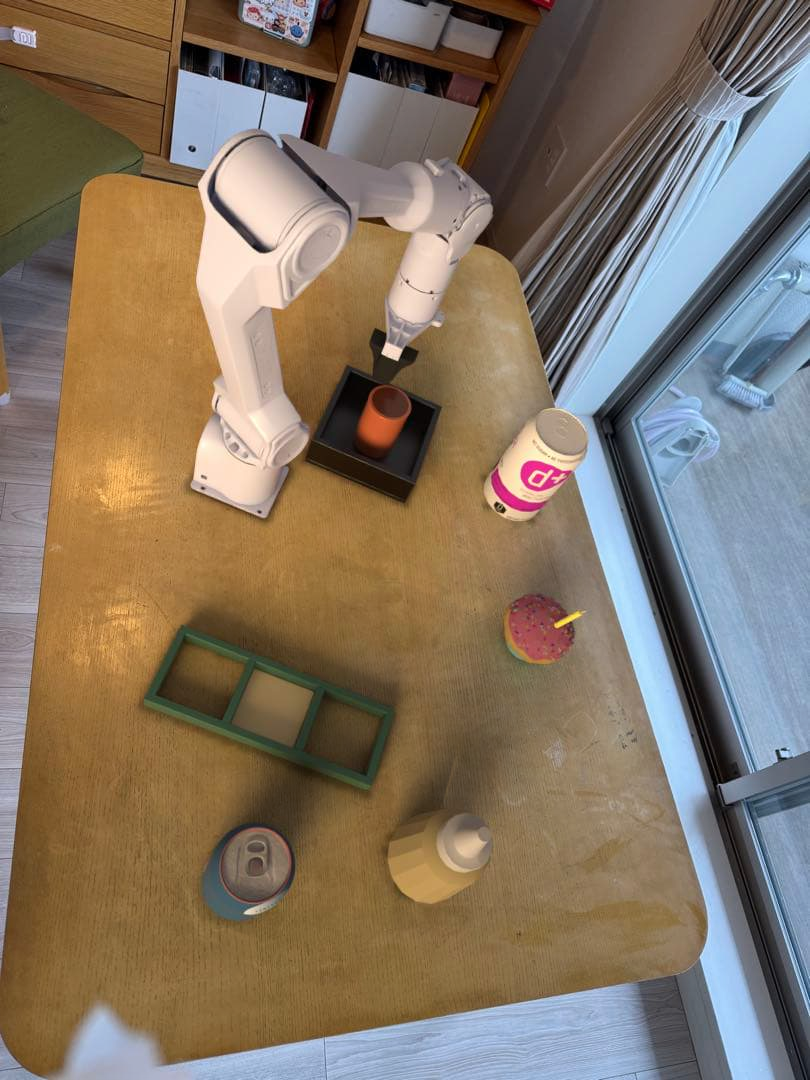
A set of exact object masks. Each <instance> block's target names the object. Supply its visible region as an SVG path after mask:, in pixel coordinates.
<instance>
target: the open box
mask: <svg viewBox="0 0 810 1080" xmlns="http://www.w3.org/2000/svg"><path fill="white" fill-rule="evenodd" d="M383 385H386V384H384V383H381V382H379V381H377V380H375V379H373V378H372V374H371V373H368V372H366V371H364V370H361V369H359V368H357V367H355V366H352V365H350V364H348V363H347V364H346V365H345V367H344V369H343V372H342V374H341V376H340V378H339V380H338V382H337V385H336V387H335V388H334V391H333V393H332V395H331V397H330V399H329V402H328V404H327V406H326V407H325V410H324V412H323V414H322V417H321V419H320V420H319V422H318V425H317V427H316V429H315V430H314V434H313V435H312V438H311V440H310V443H309V447H308V448H307V449H308V450H307V453H306V456H305V458H304V461H305V462H307V463H309V464H311V465H313V466H316V467H318V468H321V469H322V470H325V471H327V472H330V473H331V474H334V475H337V476H339V477H342V478H344V479H347V480H349V481H351V482H354V483H355V484H358V485H360V486H363V487H365V488H367V489H370V490H372V491H375V492H377V493H379V494H381V495H383V496H386V497H387V498H391V499H393V500H395V501H398V502H400V503H402V504H405V503H406V501H407V500H408V497H409V496H410V494H411V493H412V491H413V489H414V487H415V486H416V483H417V481H418V477H419V474H420V472H421V469H422V466H423V463H424V461H425V458H426V454H427V452H428V450H429V447H430V443H431V440H432V437H433V434H434V432H435V429H436V426H437V424H438V420H439V417H440V415H441V412H442V409H443V406H442V405H440V404H437V403H436V402H434V401H431V400H428V399H426V398H425V397H421V396H420V395H417V394H415V393H413V392H411V391H408V390H406V389H404V388H401V387H400V386H397V385H396V384H393V383H391V382H390V383H389V384H388V386H393V387H396V388H398V389H400V390H401V391H403V392H404V393H405V394H406V395H407V397H408V398H409V400H410V403H411V412H410V414H409V416H408V418H407V420H406V422H405V424H404V426H403V428H402V430H401V432H400V434H399V436H398V438H397V440H396V442H395V444H394V447H393V449H392V451H391V452H390V453H389V454H388V455H386V456H384V457H381V458H373V457H369V456H366V455H364V454H363V453H362V452H360V451H359V450H358V449H357V447H356V446H355V444H354V441H353V434H354V431H355V429H356V426H357V424H358V422H359V419H360V417H361V414H362V412H363V409H364V407H365V404H366V402H367V399H368V397H369V394H370V393H371V391H372V390H373V389H374V388H376V387H378V386H383Z"/></svg>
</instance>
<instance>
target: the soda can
mask: <svg viewBox="0 0 810 1080" xmlns="http://www.w3.org/2000/svg"><path fill="white" fill-rule="evenodd" d="M291 845H292V844H291V843H290V842H289V840H288V838H287V837H286V836H285V835H284V834H283V832H281V831H280V830H279V829H277V828H276V827H274V826H271V824H270V825H269V824H267V823H264V822H263V823H262V822H248V823H244V824H241V825H238V826H236V827H234V828H232V829H231V830H230V831H228V832H227V833H226V834H225V835H224V836H223V837H222V838H221V839H220V840H219V842H218V843H217V844H216V846H215V847H214V849H213V851H212V852H211V854H210V855H209V857H208V858H207V860H206V862H205V864H204V867H203V870H202V873H201V880H200V881H201V883H200V885H201V892H202V895H203V898H204V901H205V903H206V904H207V907H209V909H210V910H211V911H212V912H213V913H214V914H215V915H217V916H218V917H220V918H223V919H224V920H228V921H231V922H242V921H246V920H250V919H252V918H255V917H256V916H258V915H260V914H262V913H264V912H267V911H268V910H270V909H272V908H273V907H275V906H276V905H277V904H279V903H280V902H281V901H282V900H283V899H284V897H285V896H286V895H287V893H288V892H289V890H290V889H291V886H292V884H293V881H294V878H295V873H296V858H295V854H294V853H295V852H294V850H293V846H291Z"/></svg>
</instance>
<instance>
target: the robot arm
mask: <svg viewBox="0 0 810 1080" xmlns="http://www.w3.org/2000/svg"><path fill="white" fill-rule="evenodd" d="M277 136H278V138H279V139H280V143H281V147H280V146H279V145H278V143H277V141H276V139H275V138H274V137H273V136H272V135H271V134H270V133H269V132H268V131H267V130H264V129H261V128H248V129H245V130H242V131H240V132H238V133H237V134H235V135H233V136H232V137H230V138H229V139H227V141H225V142H224V143H223V144H222V146H221V147H220V148H219V149H218V151H217V152H216V154H215V155H214V157H213V159H212V161H211V162H210V163H209V166H208V167H207V168H206V170H205V171H204V173H203V175H202V176H201V178H200V179H199V181H198V183H197V187H198V191H199V195H200V200H201V204H202V208H203V212H204V215H205V220H204V225H203V226H204V227H203V233H202V239H201V244H200V251H199V258H198V262H197V263H198V265H197V268H196V269H197V270H196V276H195V277H196V278H195V282H196V283H195V284H196V290H197V293H198V296H199V299H200V303H201V307H202V310H203V314H204V316H205V317H204V318H205V320H206V323H207V326H208V330H209V333H210V337H211V340H212V343H213V346H214V350H215V353H216V357H217V360H218V362H219V366H220V370H221V373H220V375H218V377H217V378H216V379H214V381H213V382H212V383H213V387H214V392H213V395H212V399H211V409H212V410H213V413H212V415H211V416H210V417H209V419H208V421H207V423H206V425H205V427H204V429H203V431H202V433H201V436H200V438H199V443H198V445H197V448H196V454H195V462H194V469H193V479H192V481H191V482H190V488H191V490H192V491H193V490H194V491H195V492H199V493H201V494H202V495H206V496H208V497H210V498H212V499H215V500H217V501H220V502H222V503H225V504H227V505H229V506H232V507H234V508H237V509H239V510H241V511H244V512H247V513H249V514H251V515H254V516H256V517H258V518H261V519H266V518H267V517H268V516H269V513H270V511H271V509H272V507H273V505H274V503H275V501H276V499H277V497H278V494H279V492H280V490H281V488H282V486H283V484H284V482H285V480H286V477H287V475H288V474H289V470H290V468H289V467H288V466H287V465H288V464H289V463H290V462H292V461H294V459H295V458H296V457H297V456H299V455H300V454H301V452H303V450H304V449H305V447H306V446H307V444H308V443H309V439H310V435H311V428H310V426H309V425H308V424H307V423H306V422H304V421H303V420H302V417H301V415H300V413H299V412H298V410H297V409H296V407H295V405H293V404H294V403H292V401H291V399H290V398H289V396H288V395H287V393H286V392H285V387H284V381H283V374H282V367H281V361H280V355H279V353H280V352H279V346H278V341H277V335H276V327H275V321H274V315H273V309H277V310H285V309H287V307H288V306H289V305H291V303H292V302H293V301H294V300H295V299H297V298H298V297H299V296H300V295H301V294H302V293H303V292H304V291H305V290H306V289H308V287H309V286H310V285H311V284H312V283H313V282H314V281H315V280H316V279H317V278H318V277H319V276H320V275H321V274H322V273H323V272H324V271H325V270H326V269H327V268H329V266H331V265H332V264H333V263H334V262H335V261H336V259H337V258H338V257H339V256H340V254H341V253H342V251H343V250H345V249H346V247H347V246H348V244H349V242H350V241H351V239H352V237H353V235H354V233H355V230H356V228H357V225H358V221H359V218H360V219H361V218H383V220H384V221H385V222H386V223H387V224H388V226H389V227H391V228H393V229H394V230H396V231H399V232H408V233H411V234H410V236H409V240H408V242H407V244H406V247H405V250H404V253H403V255H402V258H401V260H400V264H399V266H398V269H397V271H396V274H395V276H394V279H393V282H392V284H391V287H390V289H388V291H387V293H386V295H385V299H384V315H385V329H386V330H385V331H383V330H381V329H379V328H377V327H374V329H373V331H372V333H371V335H370V338H369V343H368V344H369V348H370V351H371V354H372V370H371V375H372V378H373V379H375V380H377V381H379V382H381V383H384V384H386V385H388V384H389V383H390V384H391V382H392V381H393V380H394V379H395V377H397V375H398V374H399V373H400V372H401V371H402V370H403V369H405V368H407V367H409V366H412V365H413V364H414V363H415V362H416V360H417V358H418V356H419V354H420V350H417V349H416V348H413V347H411V346H408V345H409V344H410V343H411V342H413V340H415V339H416V338H417V337H418V336H420V335H421V334H422V333H424V332H425V330H427V329H428V328H430V327H431V326H434V327H436V328H442V326H443V324H444V322H445V319H446V313H445V312H444V311H443V310H440V309H439V307H440V305H441V303H442V301H443V299H444V297H445V294H446V292H447V290H448V288H449V286H450V283H451V281H452V279H453V277H454V275H455V272H456V270H457V269H458V266H459V264H460V261H461V259H462V258H463V257H465V256H467V255H468V254H469V252H470V251H471V250H472V249H473V247H474V244H475V242H476V240H477V239H478V238H479V237H480V235H481V234H482V233H483V232H484V230H486V228H487V227H488V225H489V224H490V222H491V220H492V219H493V217H494V214H493V211H494V206H493V205H492V204H491V203H492V199H491V198H492V197H491V195H490V194H489V193H488V192H487V191H486V190H484V188H483V187H481V185H479V184H478V183H477V182H476V181H475V180H474V179H473V178H472V177H471V176H470V175H469V174H467V173H466V172H465V171H464V170H463V168H461V167H460V165H458V164H457V163H454V161H452V160H451V159H450V157H449V156H448V157H447V156H446V157H443V158H441V159H439V160H437V161H435V160H434V159H432V158H431V159H430V158H426V159H425V161H424V162H423V163H420V162H414V161H407V160H405V161H401V162H398V163H396V164H394V165H393V166H391V167H390V168H389V169H385V168H382V167H378V166H376V165H372V164H369V163H367V162H363V161H359V160H357V159H353V158H350V157H346V156H343V155H340V154H337V153H335V152H331V151H328V150H326V149H324V148H322V147H320V146H317V145H315V144H313V143H311V142H309V141H306V140H304V139H301V138H300V137H298V136H295V135H293V134H289V133H278V134H277ZM272 308H273V309H272ZM259 512H260V513H259Z"/></svg>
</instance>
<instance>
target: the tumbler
mask: <svg viewBox="0 0 810 1080" xmlns="http://www.w3.org/2000/svg"><path fill="white" fill-rule="evenodd" d="M410 412H411V403H410V400H409V398H408V397H407V395H406V394H405V393H404V392H403V391H401V390H400V389H398V388H396V387H393V386H388V385H383V386H378V387H376V388H374V389H373V390H372V391H371V393H370V394H369V397H368V399H367V402H366V404H365V407H364V409H363V412H362V414H361V417H360V419H359V422H358V424H357V426H356V429H355V431H354V434H353V441H354V444H355V446H356V447H357V449H358V450H359V451H360V452H362V453H363V454H364V455H366V456H369V457H373V458H381V457H384V456H386V455H388V454H389V453H390V452H391V451H392V449H393V447H394V444H395V442H396V440H397V438H398V436H399V434H400V432H401V430H402V428H403V426H404V424H405V422H406V420H407V418H408V416H409V414H410Z"/></svg>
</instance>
